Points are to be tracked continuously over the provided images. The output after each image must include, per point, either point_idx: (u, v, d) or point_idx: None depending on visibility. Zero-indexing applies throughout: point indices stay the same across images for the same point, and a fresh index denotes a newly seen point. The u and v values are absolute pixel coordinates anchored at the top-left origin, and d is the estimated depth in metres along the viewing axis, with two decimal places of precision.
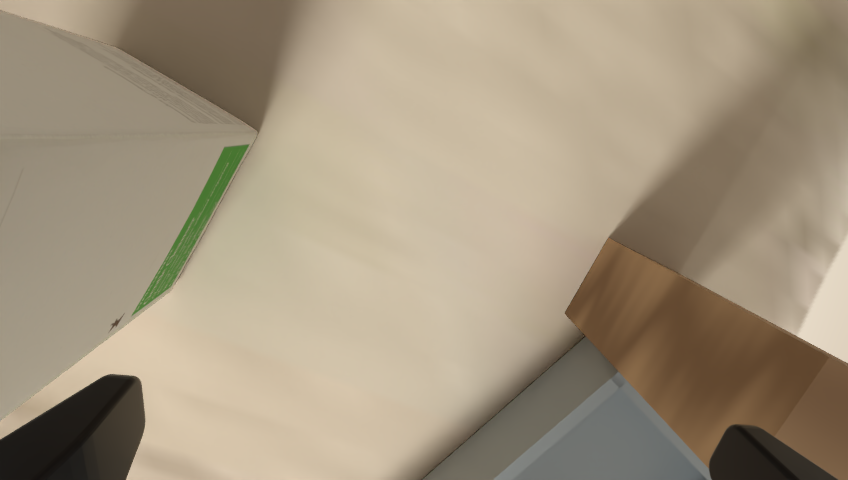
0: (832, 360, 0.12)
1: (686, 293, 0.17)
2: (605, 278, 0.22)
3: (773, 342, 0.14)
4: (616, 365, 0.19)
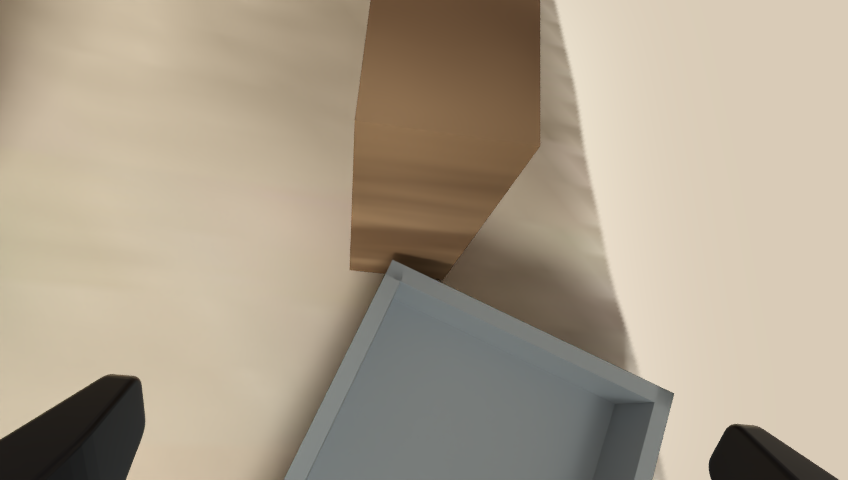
0: None
1: None
2: None
3: None
4: (351, 224, 0.17)
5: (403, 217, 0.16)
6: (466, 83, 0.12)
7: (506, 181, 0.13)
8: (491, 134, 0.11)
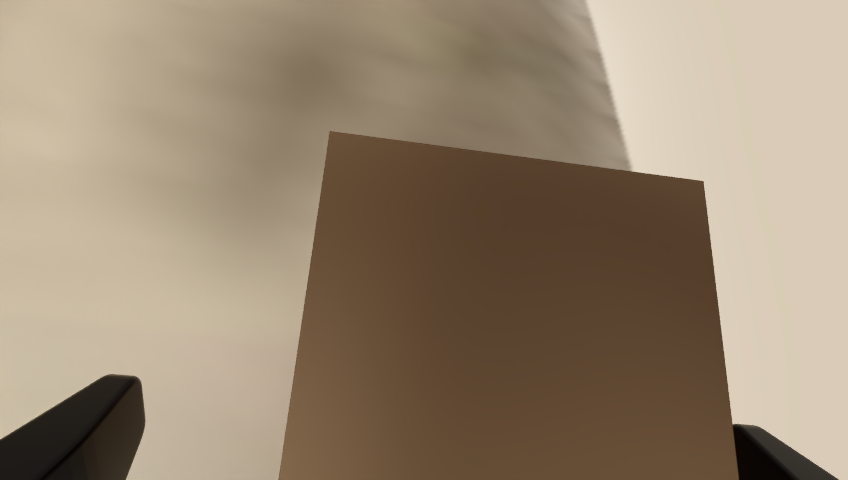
0: (345, 138, 0.05)
1: None
2: None
3: None
4: None
5: None
6: (559, 436, 0.05)
7: None
8: None
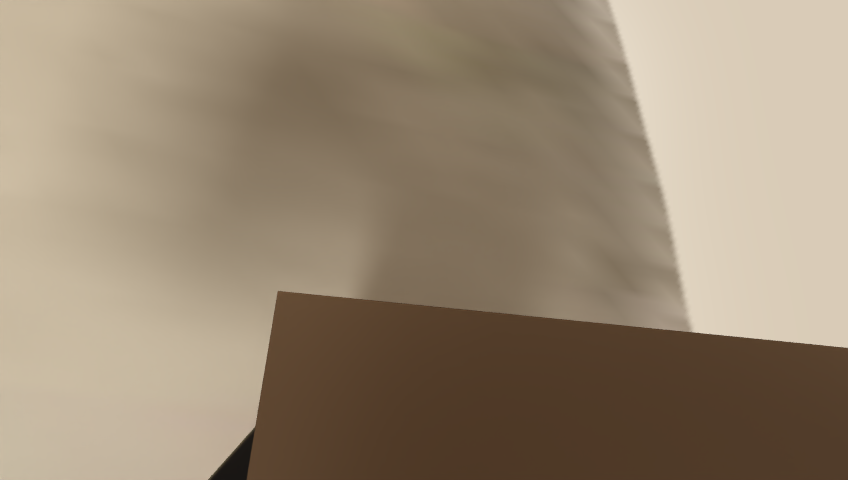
0: (306, 301, 0.03)
1: None
2: None
3: None
4: None
5: None
6: None
7: None
8: None
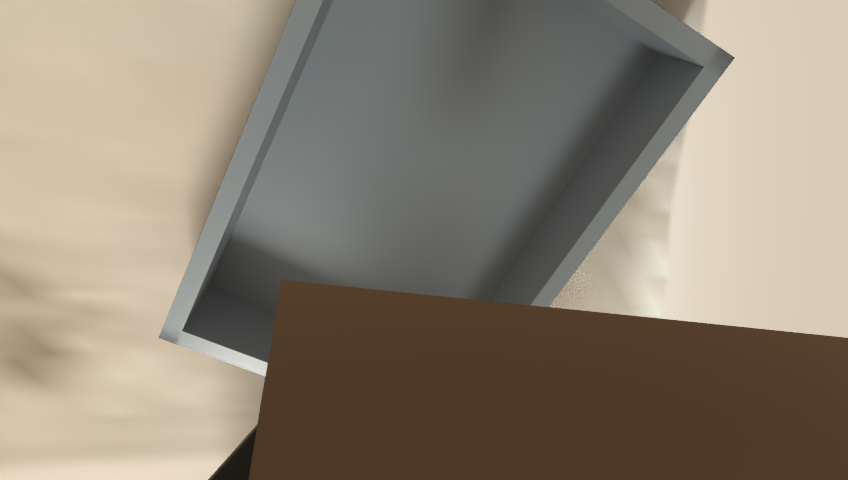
0: (309, 290, 0.03)
1: None
2: None
3: None
4: None
5: None
6: None
7: None
8: None
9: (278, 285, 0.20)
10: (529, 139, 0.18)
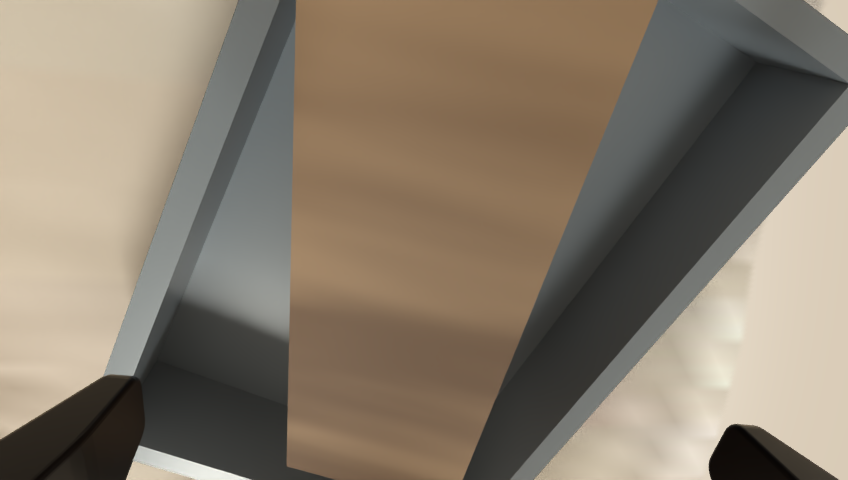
0: None
1: None
2: None
3: None
4: None
5: (386, 265, 0.08)
6: None
7: (599, 103, 0.06)
8: None
9: (246, 358, 0.16)
10: None
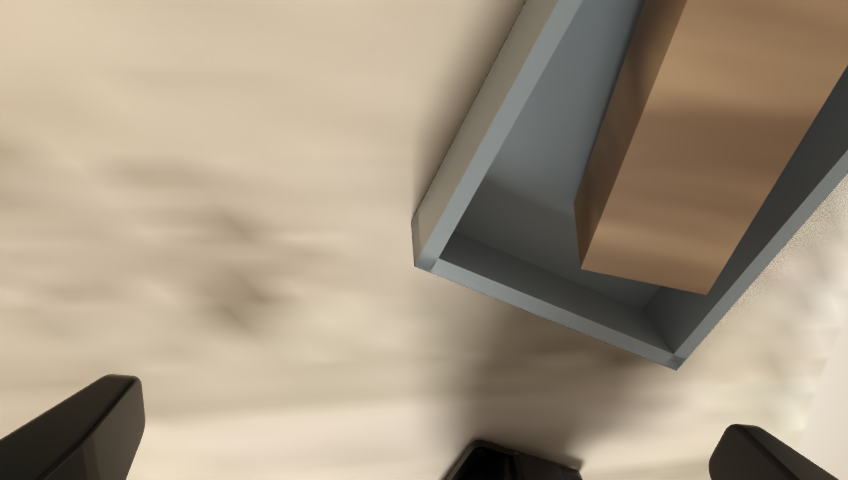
0: None
1: (638, 28, 0.16)
2: (590, 189, 0.18)
3: None
4: (642, 109, 0.14)
5: (730, 68, 0.13)
6: None
7: None
8: None
9: (500, 218, 0.20)
10: None
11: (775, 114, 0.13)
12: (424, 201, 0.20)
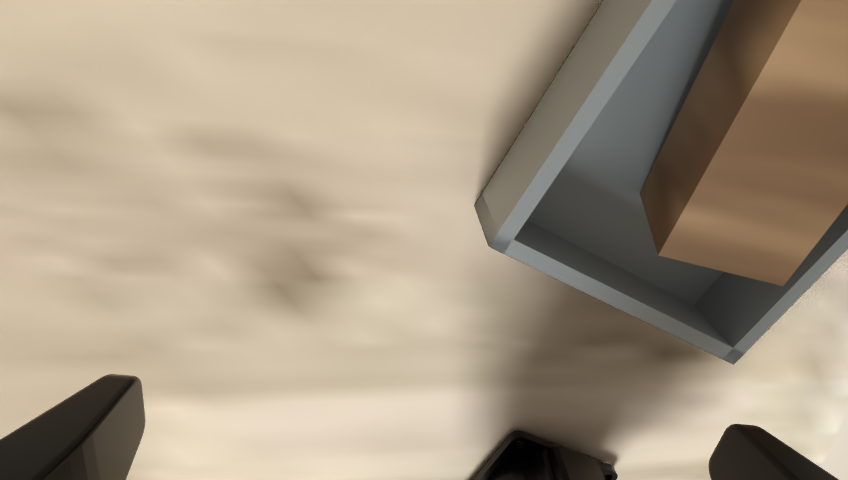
0: None
1: (731, 16, 0.16)
2: (665, 177, 0.18)
3: None
4: (746, 93, 0.14)
5: (844, 54, 0.13)
6: None
7: None
8: None
9: (565, 205, 0.20)
10: None
11: None
12: (491, 184, 0.20)
